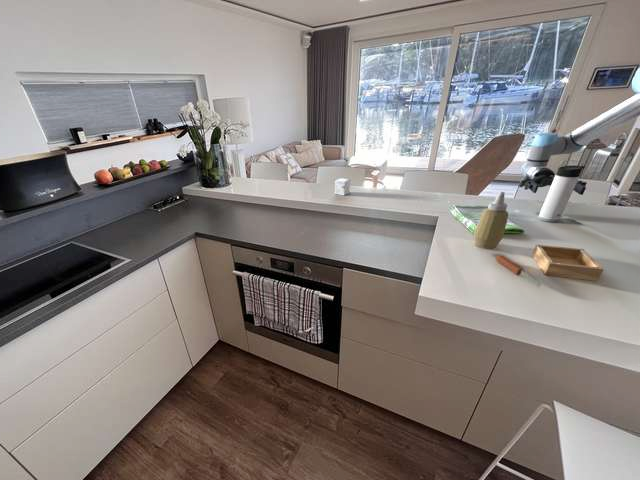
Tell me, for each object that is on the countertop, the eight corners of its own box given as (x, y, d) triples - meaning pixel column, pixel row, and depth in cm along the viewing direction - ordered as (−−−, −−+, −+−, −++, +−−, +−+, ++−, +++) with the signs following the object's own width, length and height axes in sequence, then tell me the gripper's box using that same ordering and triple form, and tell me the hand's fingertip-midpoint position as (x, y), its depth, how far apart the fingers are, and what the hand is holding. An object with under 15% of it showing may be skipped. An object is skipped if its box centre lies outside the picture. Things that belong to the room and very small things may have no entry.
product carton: (334, 194, 157) (334, 180, 153) (340, 191, 161) (340, 177, 157) (344, 195, 153) (345, 181, 150) (349, 192, 157) (350, 179, 154)
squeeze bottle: (494, 240, 98) (512, 188, 89) (503, 251, 92) (523, 196, 82) (468, 239, 100) (482, 188, 91) (474, 249, 94) (491, 196, 85)
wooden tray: (531, 254, 89) (535, 244, 87) (577, 259, 85) (583, 248, 83) (544, 274, 79) (549, 263, 77) (597, 281, 75) (603, 269, 73)
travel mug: (561, 223, 106) (587, 168, 96) (538, 221, 109) (561, 167, 99) (558, 217, 110) (582, 164, 100) (536, 215, 114) (558, 163, 104)
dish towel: (491, 211, 120) (494, 203, 119) (525, 234, 101) (529, 224, 99) (448, 212, 123) (450, 204, 121) (472, 234, 103) (475, 225, 101)
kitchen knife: (494, 260, 87) (496, 254, 86) (498, 259, 87) (500, 254, 86) (536, 289, 74) (539, 283, 73) (541, 289, 74) (545, 282, 73)
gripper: (574, 186, 120) (598, 202, 103) (502, 184, 129) (514, 198, 112) (582, 167, 116) (609, 181, 99) (508, 166, 125) (521, 179, 108)
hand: (559, 190), depth 106 cm, fingers open, 13 cm apart
